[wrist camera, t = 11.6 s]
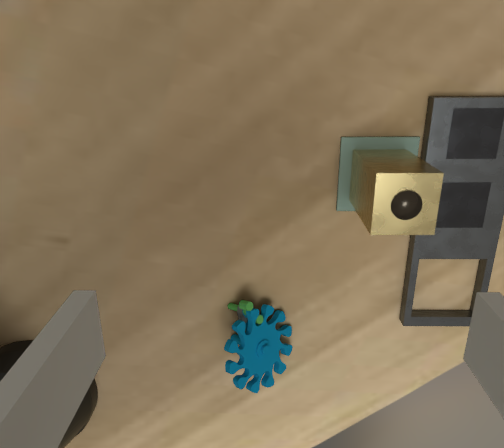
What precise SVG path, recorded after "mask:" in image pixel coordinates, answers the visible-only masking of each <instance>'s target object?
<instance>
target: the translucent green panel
mask: <svg viewBox="0 0 504 448" xmlns="http://www.w3.org/2000/svg"><path fill="white" fill-rule="evenodd" d="M419 141H420V137H341V146H340V161H339V176H338V192H337V207H336V210H337V211H356V210H355V209H354V207H353V206H352V204H351V202H350V201H349V194H350V181H351V168H352V155H353V150H354V149H406V150H408V151H410V152H411V153H413V154H414V155H416V156H418V149H419Z"/></svg>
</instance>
